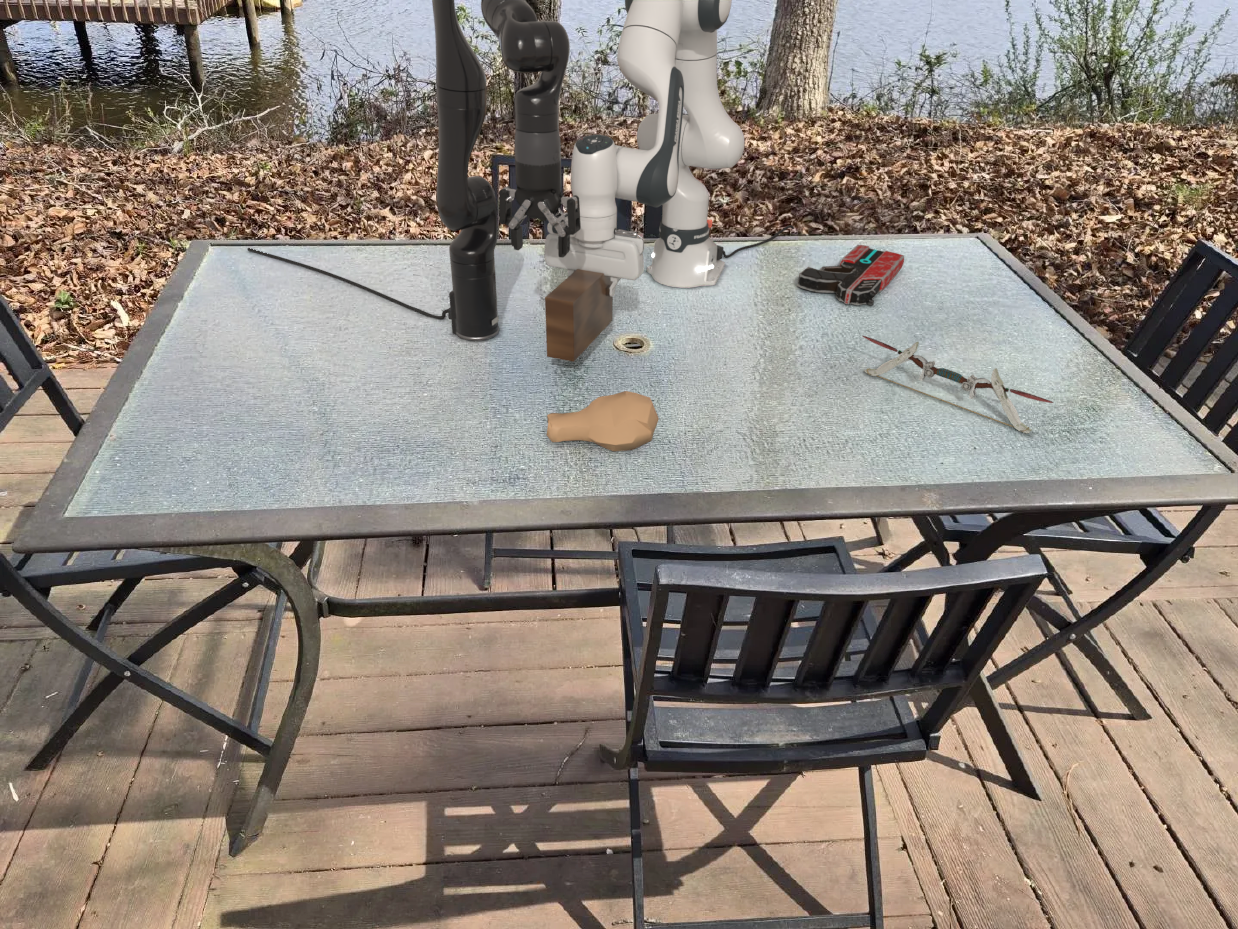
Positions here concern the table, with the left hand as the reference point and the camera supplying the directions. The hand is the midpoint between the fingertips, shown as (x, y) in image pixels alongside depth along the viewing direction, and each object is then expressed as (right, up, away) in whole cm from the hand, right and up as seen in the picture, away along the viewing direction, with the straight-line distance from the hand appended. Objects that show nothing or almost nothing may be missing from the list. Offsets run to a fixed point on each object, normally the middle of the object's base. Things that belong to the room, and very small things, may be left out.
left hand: (540, 252), depth 153 cm
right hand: (+9, -2, +24) cm, 26 cm away
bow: (+77, -25, +19) cm, 83 cm away
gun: (+73, +10, +70) cm, 102 cm away
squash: (+11, -33, +4) cm, 35 cm away
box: (+6, -12, +23) cm, 27 cm away
